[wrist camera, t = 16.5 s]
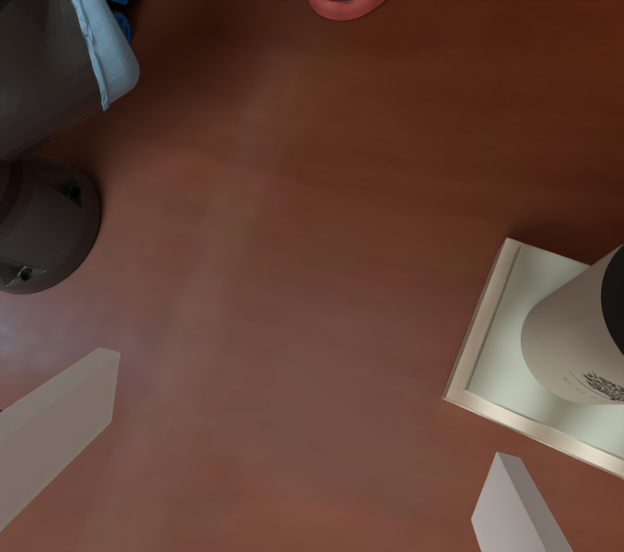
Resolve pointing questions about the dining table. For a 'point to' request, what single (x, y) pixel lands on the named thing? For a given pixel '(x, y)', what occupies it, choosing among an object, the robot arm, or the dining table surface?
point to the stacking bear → (344, 8)
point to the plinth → (514, 372)
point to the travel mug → (581, 336)
